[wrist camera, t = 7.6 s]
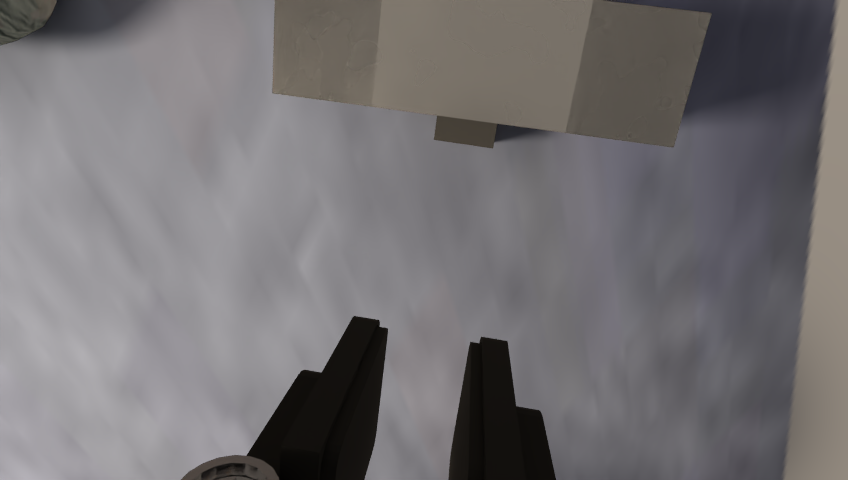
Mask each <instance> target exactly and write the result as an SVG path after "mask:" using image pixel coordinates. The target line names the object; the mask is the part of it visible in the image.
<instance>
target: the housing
mask: <svg viewBox="0 0 848 480" xmlns="http://www.w3.org/2000/svg"><path fill="white" fill-rule="evenodd" d="M711 14H712V13H706V12H697V11H689V10H680V9H672V8H663V7H654V6H646V5H637V4H629V3H620V2H612V1H603V0H275V16H274V54H273V93H275V94H282V95H290V96H297V97H305V98H312V99H319V100H327V101H334V102H341V103H349V104H356V105H364V106H371V107H378V108H386V109H393V110H401V111H408V112H415V113H423V114H430V115H437V116H445V117H452V118H460V119H467V120H474V121H482V122H489V123H497V124H504V125H511V126H519V127H526V128H533V129H541V130H548V131H556V132H563V133H570V134H578V135H585V136H593V137H600V138H607V139H615V140H622V141H629V142H637V143H644V144H652V145H659V146H666V147H674V144H675V140H676V137H677V133H678V130H679V126H680V123H681V119H682V116H683V112H684V109H685V105H686V102H687V98H688V95H689V91H690V88H691V84H692V81H693V77H694V74H695V70H696V67H697V63H698V60H699V56H700V53H701V49H702V46H703V42H704V38H705V35H706V31H707V28H708V24H709V21H710V17H711Z"/></svg>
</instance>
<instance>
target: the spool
mask: <svg viewBox="0 0 848 480" xmlns="http://www.w3.org/2000/svg"><path fill="white" fill-rule="evenodd" d="M56 2H57V0H0V45H3V44H7V43H10V42H13V41H17V40H19V39H20V38H22V37H24V36H26V35H28V34H30V33H32V32H34V31H36V30H38V29H40V28H42V27H44V25H45V24H46V22H47V21H48V19H49V18H50V16H51V14H52V12H53V10H54V7H55V5H56Z"/></svg>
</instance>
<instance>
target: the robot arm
mask: <svg viewBox="0 0 848 480" xmlns="http://www.w3.org/2000/svg"><path fill="white" fill-rule="evenodd" d="M387 335H388V328H382V327H380V322H379V320H375V319H369V318H363V317H357V316H354V317H353V318H352V320H351V321H350V323H349V325H348V327H347V329H346V330H345V332H344V334H343V336H342V338H341V339H340V341H339V343H338V345H337V346H336V348H335V350H334V352H333V354H332V355H331V357H330V359H329V361H328V362H327V364H326V366H325V368H324V370H323V371H322V373H320V372H314V371H308V370H303V371H301V372H300V374H299V375H298V376H297V378H296V379H295V381H294V382H293V384H292V386H291V387H290V389H289V390H288V392H287V393H286V395H285V396H284V398H283V400H282V401H281V403H280V404H279V406H278V407H277V409H276V411H275V412H274V414H273V415H272V417H271V418H270V420H269V421H268V423H267V425H266V426H265V428H264V429H263V431H262V432H261V434H260V435H259V437H258V439H257V440H256V442H255V443H254V445H253V446H252V448H251V449H250V451H249V453H248V454H247V456H241V455H232V456H226V457H219V458H216V459H213V460H211V461H208V462H205V463H203V464H201V465H199V466H198V467H196V468H195V469H193V470H191V471H190V472H188V473H187V474H186V475H185V476H184V477H183V478H182V479H181V480H364V479H365V475H366V472H367V468H368V465H369V461H370V458H371V455H372V451H373V447H374V443H375V438H376V431H377V422H378V414H379V405H380V396H381V388H382V379H383V370H384V361H385V353H386V344H387ZM449 480H556V478H555V473H554V469H553V464H552V459H551V454H550V450H549V445H548V440H547V435H546V431H545V426H544V421H543V417H542V414H541V412H540V411H539V410H534V409H529V408H523V407H517V406H516V402H515V394H514V387H513V379H512V372H511V364H510V357H509V349H508V343H507V341H503V340H497V339H491V338H485V337H481V339H480V343H473V342H470V346H469V351H468V357H467V363H466V368H465V374H464V380H463V385H462V391H461V397H460V403H459V408H458V414H457V420H456V425H455V431H454V437H453V443H452V449H451V456H450V467H449Z"/></svg>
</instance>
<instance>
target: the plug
mask: <svg viewBox="0 0 848 480" xmlns="http://www.w3.org/2000/svg"><path fill="white" fill-rule="evenodd" d="M496 128H497V123H489V122H482V121H474V120H467V119H460V118H452V117H445V116H437V122H436V129H435V136H434V140H440V141H447V142H453V143H460V144H467V145H474V146H481V147H487V148H493V145H494V140H495V134H496Z"/></svg>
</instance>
